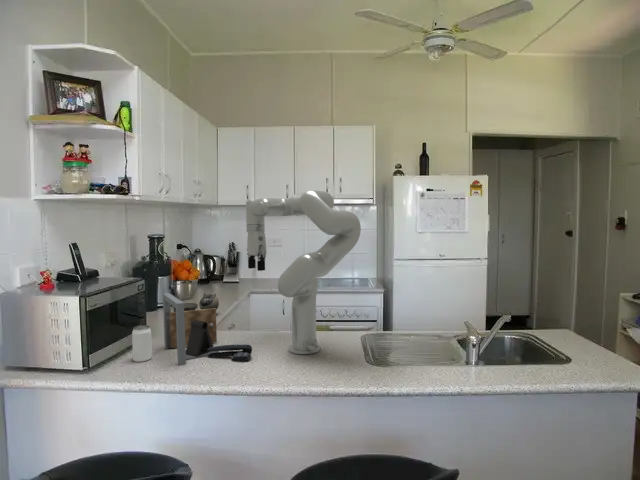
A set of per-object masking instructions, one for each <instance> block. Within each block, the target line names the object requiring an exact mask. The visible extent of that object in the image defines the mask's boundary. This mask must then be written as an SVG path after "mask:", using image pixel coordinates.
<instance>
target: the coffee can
mask: <svg viewBox="0 0 640 480" xmlns="http://www.w3.org/2000/svg"><path fill="white" fill-rule="evenodd" d="M183 303H184V302H183ZM172 307H173V306H172ZM198 307H199V304H197V303H195V302H185V303H184V311H191V310H199V308H198ZM173 312H176V308H175V307H173Z"/></svg>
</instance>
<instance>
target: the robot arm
mask: <svg viewBox="0 0 640 480" xmlns="http://www.w3.org/2000/svg"><path fill="white" fill-rule="evenodd" d="M334 204H335V200H334V197H333V195H332V194H331V193H330V192H327V191H323V190H311V189H310V190H307V191H305V192H301V193H295V194H293V195H292V196H291V197H285V198H284V197H283V198H280V197H279V198H275V197H259V198H253V199H252V198H251V199H247V200H246V202H245V214H246V216H245V219H246V221H245V222H246V223H245V224H246V233H247V237H246V238H247V240H246V252H247V254H246V255H247V267H248V269H255V268H257V271H258V272H259V271H260V272H262V271H266V258H267V257H266V256H267V240H266V233H265V230H266V229H265V228H266V227H265V226H266V225H265V224H266V223H265V217H291V216H296V217H299V216H306V217H307V218H309V220H311V222H312V223H313V224H315V226H316V227H317V228H318V229H319V230H320V231H321V232H322V233H324V234H326V235H328V236H332V237H330V238H329V239H328V240H327V241H326V242H325V243H324V244H323V245H322V246H321V247H320V248H319V249H318V250H316V251H313V252H306V253H303V254H301V255H299V256H298V257H297V258H296V259H295V260H293V262H292V263H291V264H290V265H289V266H288V267H287V268H286V269H285V271H283V273H282V274H281V275H280V276H279V278H278V280H277V289H278V292H279V293H280V294H281V295H282V296H283V297H285V298H292V301H291V342H292V343H291V344H289V345H288V348H287V349H288V351H289V352H290V353H291V354H296V355H310V354H316V353H318V352H319V351H320V350H321V345H320V344H319V343H318V339H317V292H318V288H319V287H318V286H319V278H322V277H325V276H326V275H328V274H329V273H330V272H331V271H332V270H333V269H334V268H335V267H336V266H337V265H338V264H339V263H340V262H342V260H343V259H344V257H346V256H347V254H349V253H350V252H351V251H352V250H353V248H355V246H356V245H357V243H358V242H359V239H360V238H361V237H360V236H361V231H362V228H361V227H362V225H361V221H360V219H359V218H358V215H356V214H355V213H353V212H351V211H348V210H334V206H335V205H334ZM256 258H257V263H256Z"/></svg>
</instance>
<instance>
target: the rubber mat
mask: <svg viewBox="0 0 640 480" xmlns="http://www.w3.org/2000/svg"><path fill="white" fill-rule="evenodd" d="M216 352H220V351H211V352H208V353H205V354H203V355H200V356H198V357H197V356H192V355H188V354H186V361H189V360H190V361H191V360H194V359H199V358H205V357H209V356H208V355H209V354H210V353H216Z"/></svg>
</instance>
